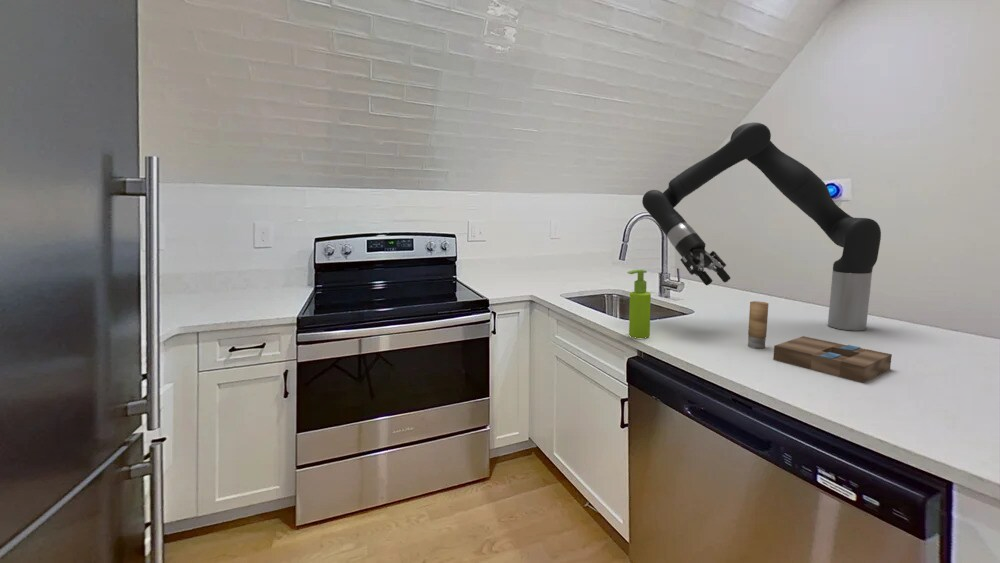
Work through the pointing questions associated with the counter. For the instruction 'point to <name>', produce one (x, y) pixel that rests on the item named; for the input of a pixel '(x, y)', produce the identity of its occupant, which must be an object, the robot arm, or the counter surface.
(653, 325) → the counter surface
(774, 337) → the counter surface
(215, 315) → the counter surface
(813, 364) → the board
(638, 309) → the soap dispenser
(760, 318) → the upright wooden block
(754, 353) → the counter surface
